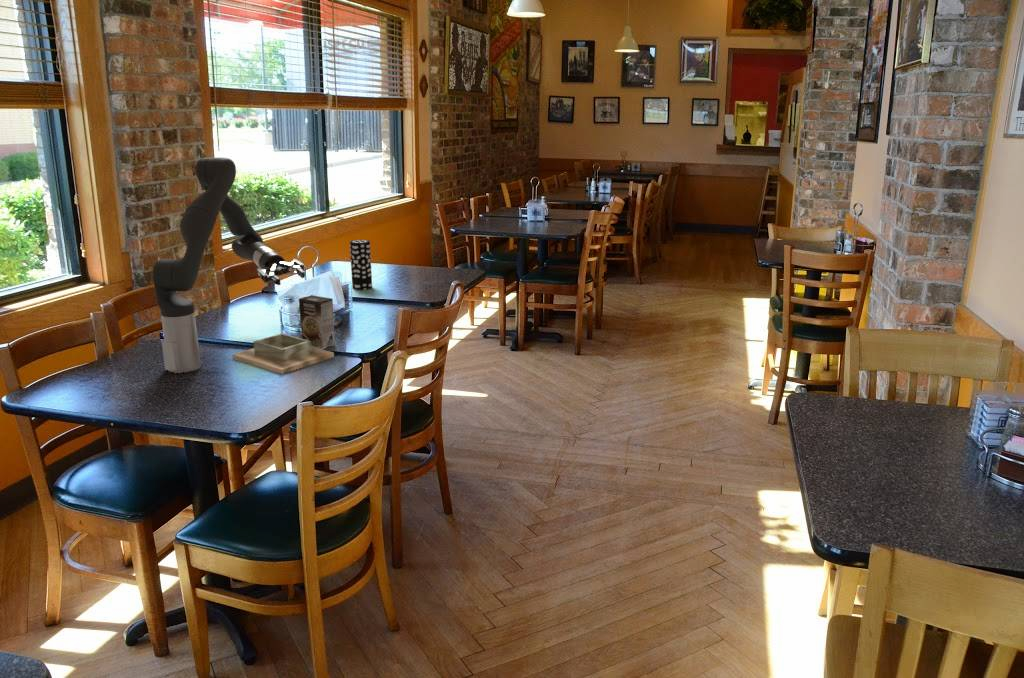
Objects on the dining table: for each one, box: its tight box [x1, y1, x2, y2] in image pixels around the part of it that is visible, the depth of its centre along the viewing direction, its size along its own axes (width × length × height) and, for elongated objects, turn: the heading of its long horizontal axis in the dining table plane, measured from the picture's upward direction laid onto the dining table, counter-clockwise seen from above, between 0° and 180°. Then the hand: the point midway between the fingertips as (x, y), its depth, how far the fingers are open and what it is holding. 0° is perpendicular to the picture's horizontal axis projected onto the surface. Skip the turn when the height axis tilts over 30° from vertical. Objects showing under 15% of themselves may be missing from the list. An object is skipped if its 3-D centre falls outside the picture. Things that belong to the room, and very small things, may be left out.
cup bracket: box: [232, 333, 335, 375], centre depth 247 cm, size 20×24×6 cm
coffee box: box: [298, 294, 336, 348], centre depth 258 cm, size 9×6×16 cm
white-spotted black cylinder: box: [349, 239, 373, 291], centre depth 334 cm, size 8×8×20 cm
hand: (291, 278), depth 257 cm, fingers open, 8 cm apart
